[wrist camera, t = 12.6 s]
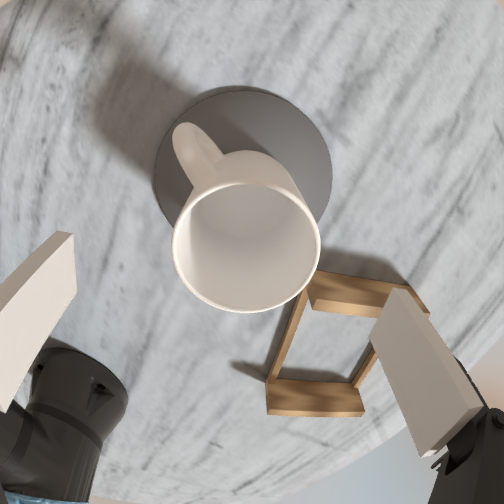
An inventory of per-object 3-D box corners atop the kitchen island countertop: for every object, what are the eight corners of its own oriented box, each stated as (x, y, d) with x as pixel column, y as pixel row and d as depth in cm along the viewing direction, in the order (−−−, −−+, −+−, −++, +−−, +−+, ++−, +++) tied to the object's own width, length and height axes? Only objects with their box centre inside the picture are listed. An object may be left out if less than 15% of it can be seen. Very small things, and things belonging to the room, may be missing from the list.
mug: (152, 146, 24) (101, 177, 15) (237, 90, 22) (233, 84, 13) (230, 256, 29) (224, 332, 20) (311, 212, 27) (343, 273, 18)
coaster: (149, 242, 29) (147, 245, 28) (171, 78, 22) (169, 77, 22) (304, 270, 31) (305, 273, 30) (349, 116, 24) (352, 116, 23)
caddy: (265, 383, 38) (267, 414, 34) (306, 268, 31) (316, 298, 26) (352, 388, 40) (361, 416, 35) (411, 286, 32) (430, 313, 28)
